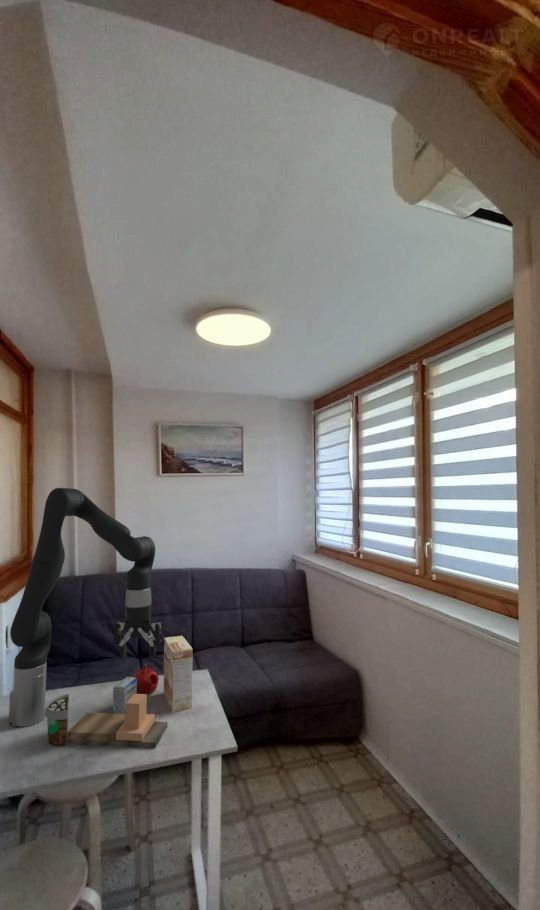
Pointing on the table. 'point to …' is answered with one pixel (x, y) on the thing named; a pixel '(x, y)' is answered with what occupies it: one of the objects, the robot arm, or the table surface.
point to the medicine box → (123, 694)
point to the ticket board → (127, 743)
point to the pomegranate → (146, 680)
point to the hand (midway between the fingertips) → (137, 658)
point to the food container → (57, 720)
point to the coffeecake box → (178, 673)
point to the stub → (135, 719)
